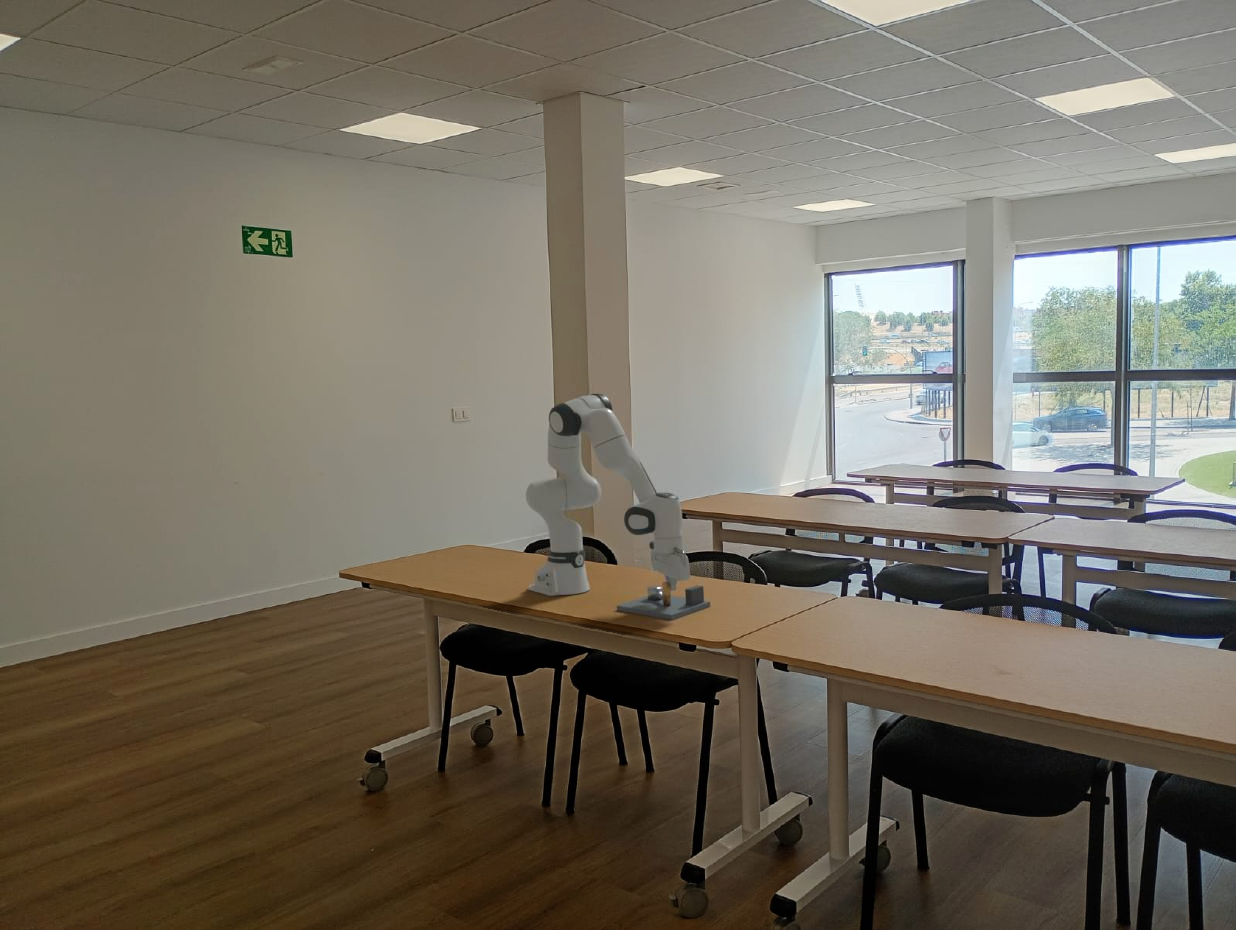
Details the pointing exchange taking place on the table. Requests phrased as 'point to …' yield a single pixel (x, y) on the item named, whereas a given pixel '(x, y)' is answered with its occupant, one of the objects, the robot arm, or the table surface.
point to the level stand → (675, 610)
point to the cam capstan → (660, 593)
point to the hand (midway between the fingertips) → (671, 589)
